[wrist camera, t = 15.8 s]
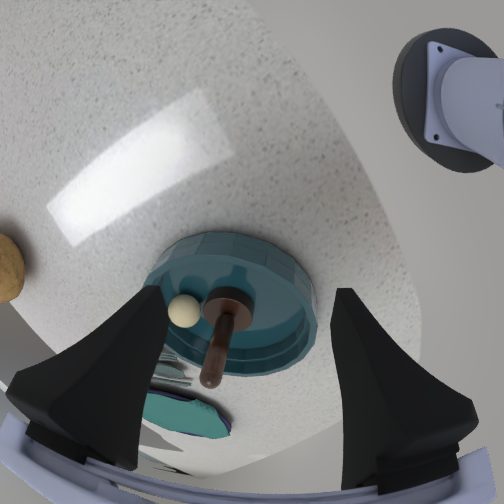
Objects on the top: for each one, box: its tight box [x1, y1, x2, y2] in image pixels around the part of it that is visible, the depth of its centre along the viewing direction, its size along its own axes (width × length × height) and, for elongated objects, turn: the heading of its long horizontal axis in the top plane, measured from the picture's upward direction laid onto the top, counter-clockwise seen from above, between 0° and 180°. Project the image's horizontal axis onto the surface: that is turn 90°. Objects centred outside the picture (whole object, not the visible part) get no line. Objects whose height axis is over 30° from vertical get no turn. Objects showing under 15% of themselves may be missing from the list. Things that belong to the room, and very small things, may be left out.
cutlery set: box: [142, 351, 231, 439], centre depth 40 cm, size 20×30×2 cm, turn 6°
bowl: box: [142, 232, 318, 377], centre depth 25 cm, size 15×15×4 cm
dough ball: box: [168, 295, 201, 328], centre depth 25 cm, size 3×3×3 cm
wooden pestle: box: [199, 287, 254, 389], centre depth 22 cm, size 4×4×9 cm
